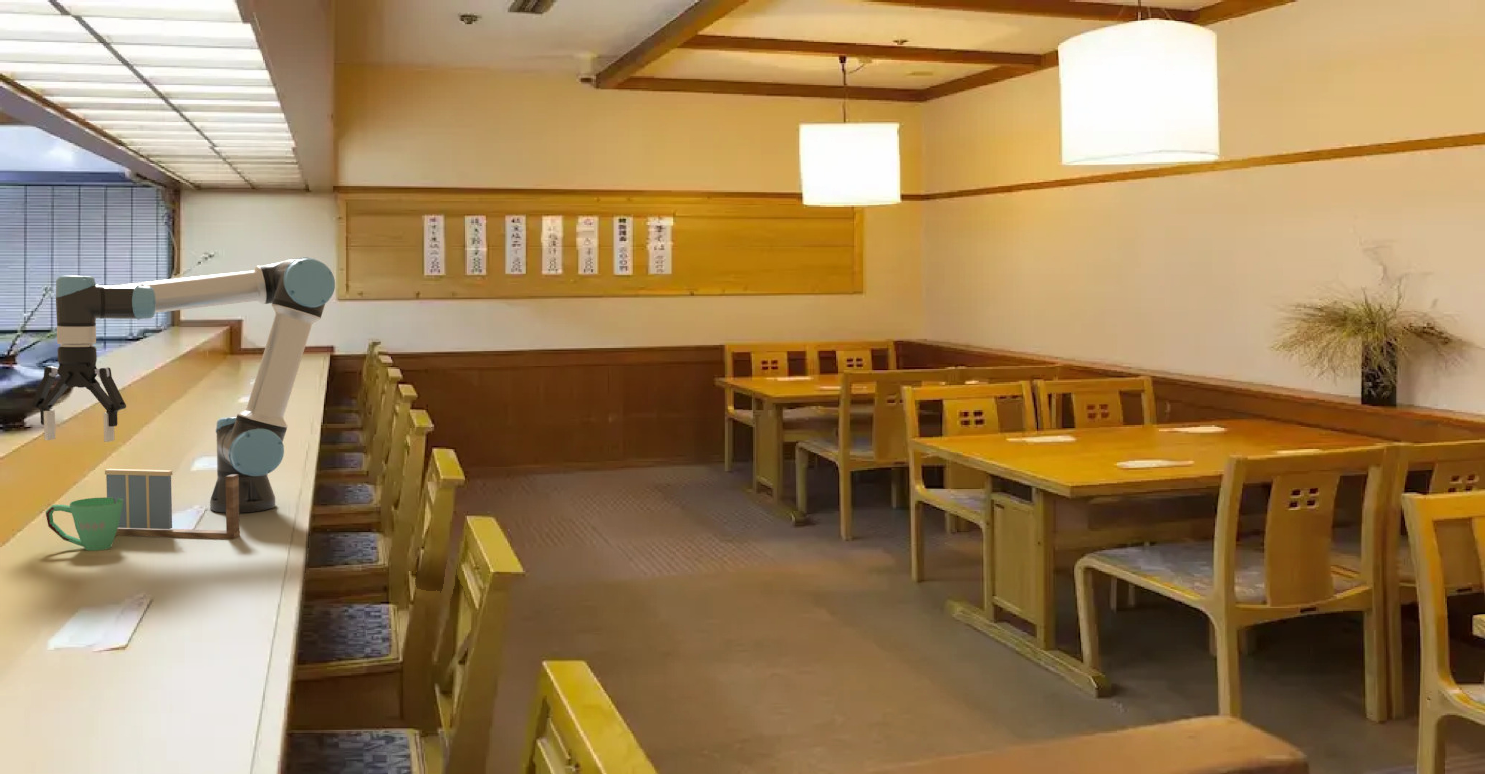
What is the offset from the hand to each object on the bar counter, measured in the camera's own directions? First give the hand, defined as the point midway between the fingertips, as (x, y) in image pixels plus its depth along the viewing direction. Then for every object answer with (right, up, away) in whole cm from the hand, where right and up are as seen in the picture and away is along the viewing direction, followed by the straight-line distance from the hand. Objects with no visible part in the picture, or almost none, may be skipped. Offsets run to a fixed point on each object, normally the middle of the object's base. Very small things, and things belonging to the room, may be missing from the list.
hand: (79, 440), depth 259 cm
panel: (+13, -20, 0) cm, 24 cm away
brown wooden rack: (+20, -21, 0) cm, 29 cm away
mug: (+9, -23, -13) cm, 28 cm away
